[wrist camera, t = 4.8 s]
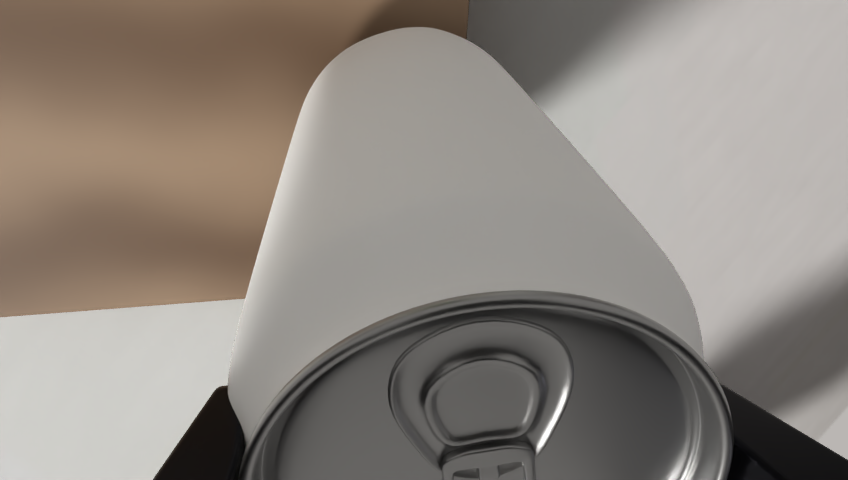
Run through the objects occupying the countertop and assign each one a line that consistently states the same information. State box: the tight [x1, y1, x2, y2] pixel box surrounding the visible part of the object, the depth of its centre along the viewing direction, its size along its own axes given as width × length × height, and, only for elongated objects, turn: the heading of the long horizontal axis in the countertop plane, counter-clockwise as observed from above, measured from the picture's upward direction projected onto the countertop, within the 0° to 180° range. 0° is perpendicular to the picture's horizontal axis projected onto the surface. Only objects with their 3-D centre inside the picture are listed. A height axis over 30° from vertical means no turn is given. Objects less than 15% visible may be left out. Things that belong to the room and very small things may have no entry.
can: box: [228, 27, 734, 480], centre depth 12 cm, size 6×6×12 cm
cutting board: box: [0, 0, 469, 317], centre depth 17 cm, size 16×16×2 cm
